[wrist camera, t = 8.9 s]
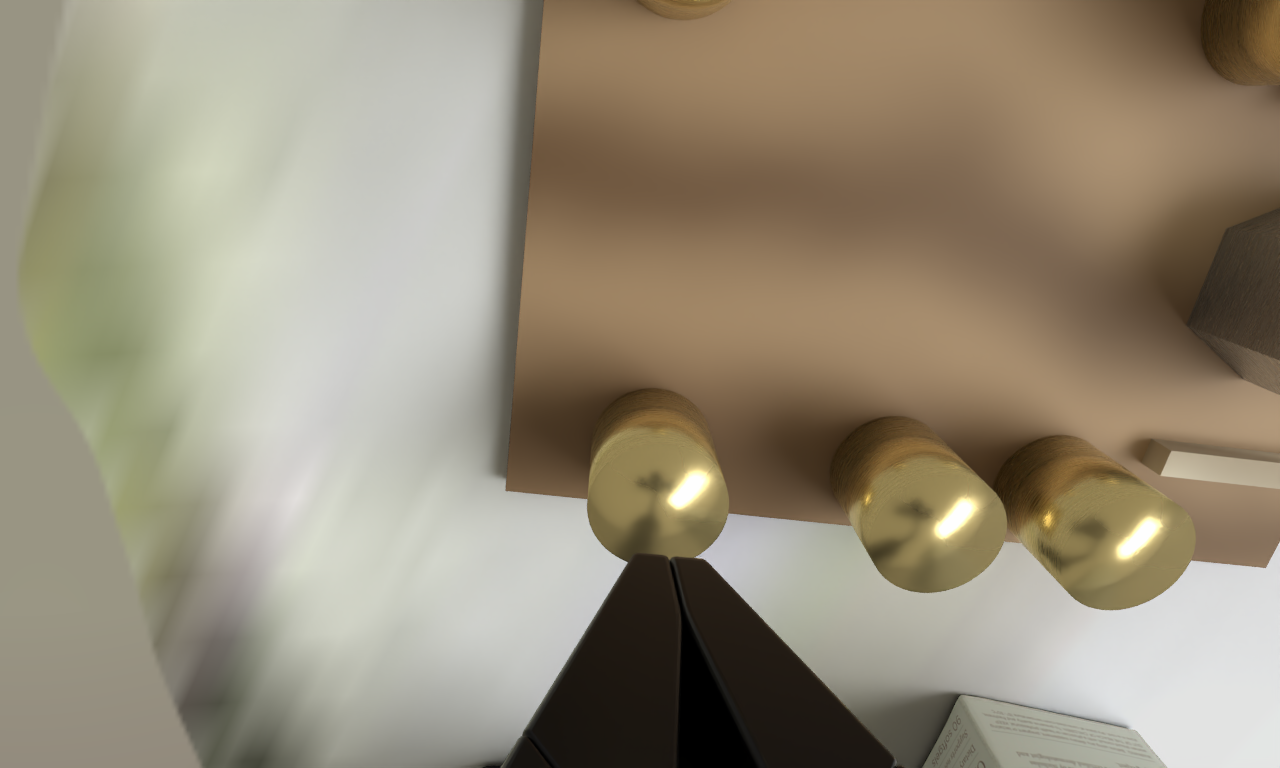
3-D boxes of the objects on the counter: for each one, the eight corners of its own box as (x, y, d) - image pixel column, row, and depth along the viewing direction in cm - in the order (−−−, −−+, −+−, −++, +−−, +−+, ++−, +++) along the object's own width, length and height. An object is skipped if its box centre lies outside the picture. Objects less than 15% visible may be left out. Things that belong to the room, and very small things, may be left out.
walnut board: (1249, 557, 23) (1288, 583, 22) (508, 480, 21) (501, 504, 20) (1556, -36, 17) (1633, -48, 16) (563, -215, 15) (558, -246, 14)
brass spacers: (1112, 544, 22) (1198, 619, 19) (551, 486, 21) (539, 556, 17) (1374, -64, 16) (1566, -108, 13) (621, -199, 15) (624, -286, 12)
